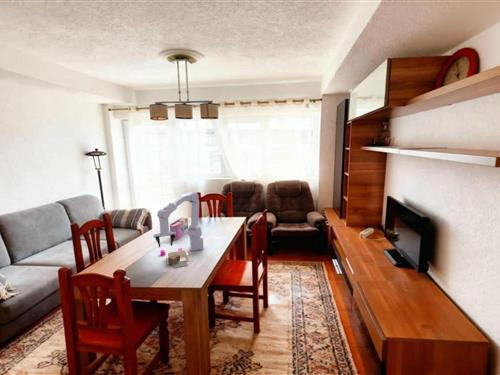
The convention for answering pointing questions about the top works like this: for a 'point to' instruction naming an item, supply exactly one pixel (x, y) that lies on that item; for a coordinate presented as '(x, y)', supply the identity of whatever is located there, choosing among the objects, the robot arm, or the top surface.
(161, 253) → the toy block
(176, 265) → the mat
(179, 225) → the gum box
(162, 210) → the robot arm
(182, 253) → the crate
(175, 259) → the walnut block
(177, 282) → the top surface
